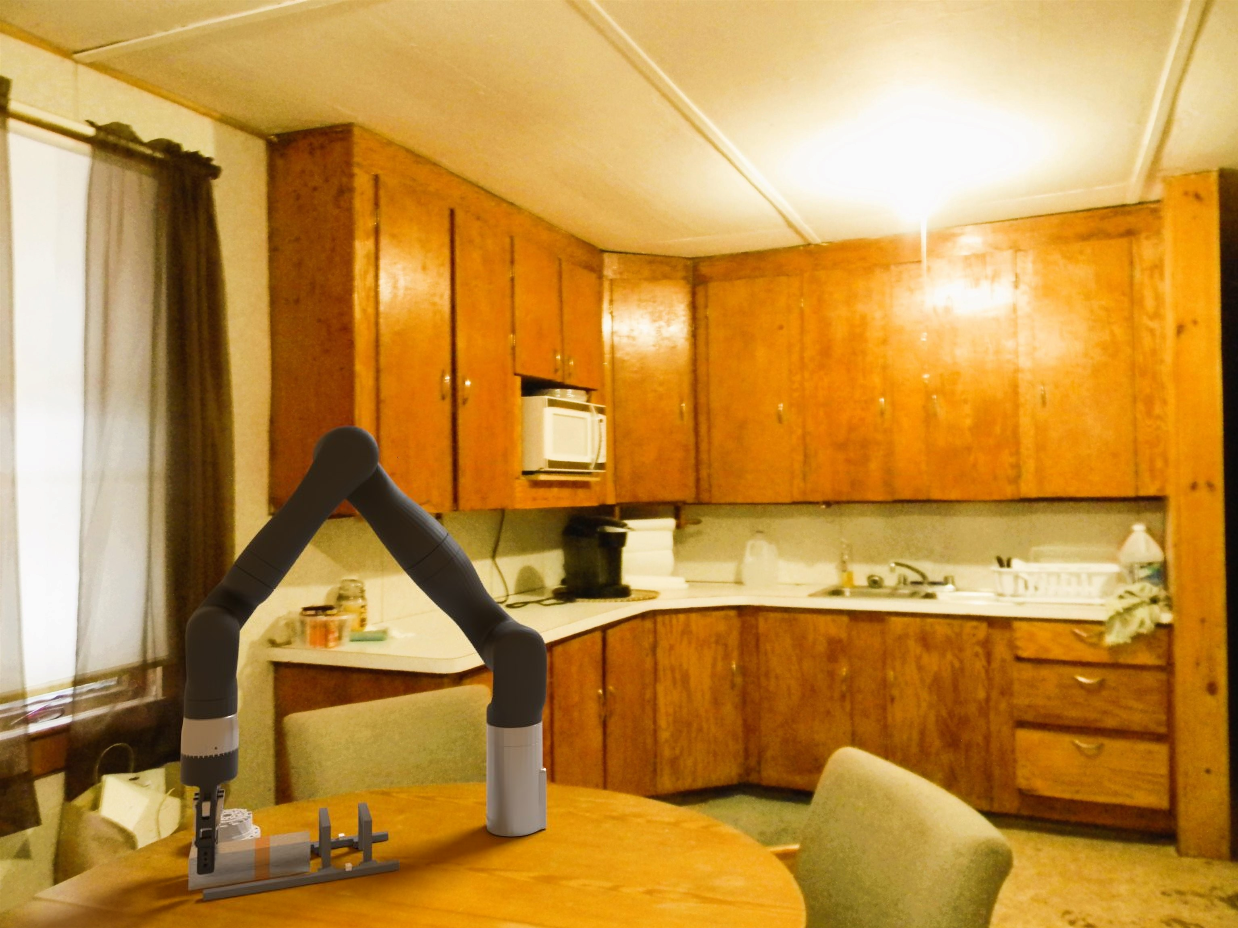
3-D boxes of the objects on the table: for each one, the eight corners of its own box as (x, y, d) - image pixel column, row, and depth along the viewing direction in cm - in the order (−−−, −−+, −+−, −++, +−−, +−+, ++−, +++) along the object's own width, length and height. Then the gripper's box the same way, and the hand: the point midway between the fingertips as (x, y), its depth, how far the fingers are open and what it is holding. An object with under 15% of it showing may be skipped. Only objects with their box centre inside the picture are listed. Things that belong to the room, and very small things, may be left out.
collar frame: (387, 837, 141) (387, 794, 141) (399, 869, 128) (399, 822, 128) (208, 863, 131) (209, 816, 131) (202, 900, 118) (203, 849, 119)
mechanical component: (177, 853, 136) (234, 858, 134) (177, 824, 136) (235, 828, 134) (218, 830, 145) (273, 833, 143) (219, 803, 145) (273, 806, 143)
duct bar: (308, 860, 132) (309, 830, 132) (310, 871, 128) (310, 840, 128) (190, 878, 126) (191, 846, 126) (188, 890, 122) (188, 858, 122)
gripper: (237, 756, 121) (234, 877, 120) (239, 732, 134) (237, 840, 133) (176, 762, 118) (173, 886, 117) (185, 736, 131) (182, 847, 130)
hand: (207, 861), depth 125 cm, fingers open, 8 cm apart
